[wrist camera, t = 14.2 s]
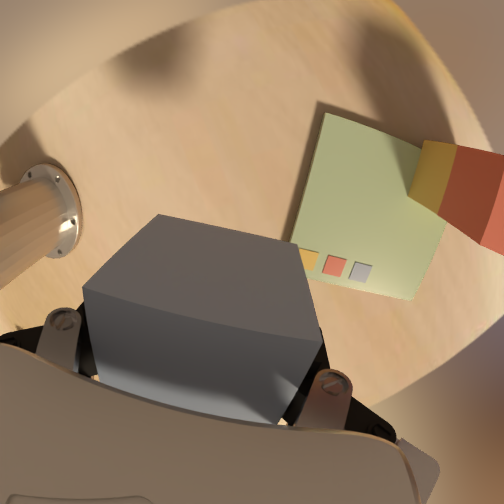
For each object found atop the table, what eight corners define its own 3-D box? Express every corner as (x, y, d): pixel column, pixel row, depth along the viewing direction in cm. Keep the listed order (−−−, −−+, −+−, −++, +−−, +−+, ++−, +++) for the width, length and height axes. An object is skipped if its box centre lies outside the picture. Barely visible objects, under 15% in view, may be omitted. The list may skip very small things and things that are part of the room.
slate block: (151, 322, 14) (109, 413, 8) (158, 214, 11) (82, 286, 6) (263, 347, 14) (261, 448, 9) (297, 244, 12) (322, 341, 6)
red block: (437, 214, 18) (479, 244, 13) (457, 145, 16) (507, 156, 11) (481, 234, 19) (521, 264, 13) (501, 173, 16) (546, 190, 11)
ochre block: (407, 196, 24) (437, 214, 18) (423, 139, 21) (458, 145, 16) (450, 214, 24) (481, 234, 19) (466, 162, 22) (501, 173, 16)
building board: (281, 267, 29) (281, 272, 28) (323, 113, 23) (326, 112, 22) (407, 295, 30) (411, 301, 29) (457, 168, 23) (464, 171, 22)
